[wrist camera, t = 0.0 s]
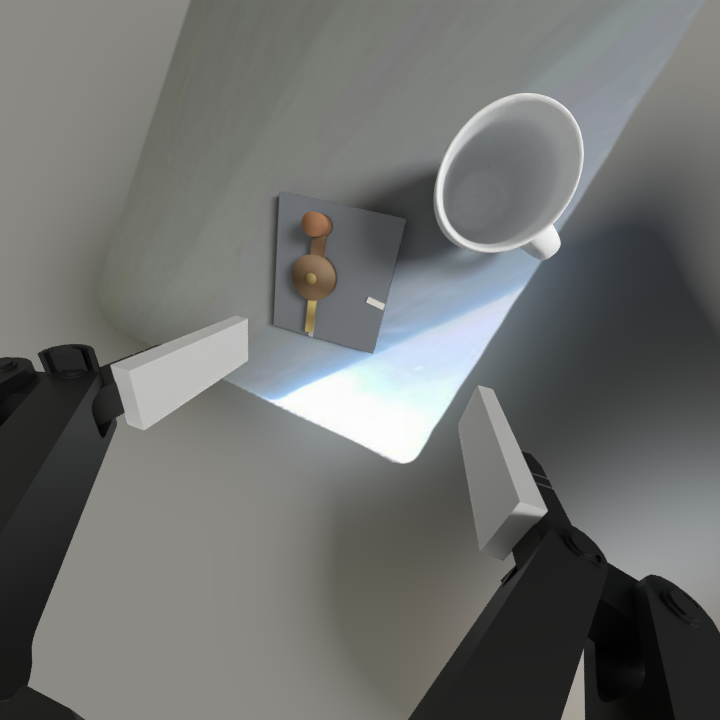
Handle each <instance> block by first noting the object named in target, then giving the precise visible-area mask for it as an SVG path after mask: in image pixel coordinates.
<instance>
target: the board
mask: <svg viewBox="0 0 720 720" xmlns="http://www.w3.org/2000/svg"><path fill="white" fill-rule="evenodd" d="M309 211H313V212H317V213H321V214H325V215H327V216H328V217H329V218H330V219H331V221H332V224H333V229H332V232H331V233H330V235H328V236H327V243H326V251H325V257H326V258H328V259H329V260H330V261H331V262H332V264H333V265H334V267H335V269H336V272H337V284H336V287H335V289H334V291H333V292H332V293H331V294H330V295H328V296H327V297H325V298H323V299H321V300H317V307H316V316H315V324H314V332H312V333H310V332H306V331H305V325H306V315H307V306H308V299H306V298H304V297H303V296H301V295H300V294H299V293H298V292H297V290H296V289H295V287H294V285H293V282H292V269H293V266H294V264H295V262H296V261H297V260H298V259H299V258H300V257H302V256H305V255H310V254H311V244H312V236H309V235H307V234H306V233H305V232H304V230H303V228H302V218H303V216H304V214H305V213H307V212H309ZM406 222H407V219H405V218H401V217H396V216H392V215H387V214H382V213H378V212H373V211H369V210H364V209H360V208H355V207H351V206H346V205H341V204H337V203H332V202H328V201H323V200H319V199H314V198H309V197H305V196H300V195H296V194H291V193H287V192H282V191H279V212H278V235H277V257H276V279H275V302H274V324H273V325H274V326H278V327H281V328H285V329H288V330H292V331H295V332H299V333H302V334H306V335H308V336H311V337H316V338H320V339H323V340H327V341H330V342H334V343H337V344H341V345H344V346H348V347H351V348H355V349H358V350H362V351H365V352H369V353H373V351H374V349H375V345H376V341H377V337H378V333H379V329H380V325H381V321H382V317H383V314H384V310H385V306H386V302H387V298H388V294H389V290H390V286H391V282H392V278H393V274H394V270H395V266H396V262H397V258H398V254H399V250H400V246H401V242H402V238H403V234H404V230H405V226H406Z"/></svg>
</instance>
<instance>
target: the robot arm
mask: <svg viewBox="0 0 720 720" xmlns="http://www.w3.org/2000/svg"><path fill="white" fill-rule="evenodd" d="M38 356H39V358H40V360H41V363H42V365H43V367H44V370H45V372H37V371H35V369H34V367H33V365H32V362H31V361H30V360H28V359H25V358H19V357H18V358H10V357H5V358H0V720H85V719H83V718H82V717H80V716H79V715H78V714H77V713H75V712H74V711H72V710H71V709H69V708H68V707H66V706H64V705H62V704H60V703H58V702H56V701H54V700H52V699H51V698H49V697H47V696H45V695H43V694H41V693H39V692H37V691H35V690H33V689H32V688H30V687H28V686H27V685H28V682H29V679H30V674H31V668H32V642H33V637H34V633H35V630H36V628H37V625H38V623H39V621H40V618H41V616H42V613H43V610H44V608H45V605H46V603H47V600H48V598H49V595H50V593H51V590H52V588H53V585H54V583H55V580H56V578H57V575H58V573H59V570H60V568H61V565H62V563H63V560H64V558H65V555H66V552H67V550H68V547H69V545H70V542H71V540H72V537H73V535H74V532H75V530H76V527H77V525H78V522H79V520H80V517H81V514H82V512H83V509H84V507H85V505H86V502H87V499H88V497H89V494H90V492H91V489H92V487H93V484H94V482H95V479H96V477H97V474H98V471H99V469H100V467H101V464H102V462H103V459H104V457H105V454H106V452H107V449H108V447H109V444H110V442H111V439H112V437H113V434H114V431H115V429H116V426H117V421H116V417H117V416H119V415H121V414H123V413H124V414H125V417H126V420H127V424H128V425H131V426H133V427H136V428H139V429H141V430H146V429H147V428H149V427H150V426H151V425H153V424H154V423H156V422H158V421H159V420H161V419H162V418H163V417H165V416H166V415H168V414H169V413H171V412H172V411H174V410H175V409H177V408H178V407H180V406H181V405H183V404H184V403H186V402H187V401H189V400H190V399H192V398H193V397H195V396H196V395H198V394H199V393H200V392H202V391H203V390H205V389H207V388H208V387H210V386H211V385H212V384H214V383H215V382H217V381H218V380H220V379H221V378H223V377H224V376H226V375H227V374H229V373H230V372H232V371H233V370H235V369H236V368H238V367H239V366H241V365H242V364H244V363H245V362H247V361H248V319H246V318H242V317H239V316H234V317H231V318H228V319H226V320H223V321H221V322H218V323H216V324H213V325H211V326H208V327H206V328H203V329H201V330H198V331H195V332H193V333H190V334H188V335H185V336H183V337H180V338H178V339H175V340H173V341H170V342H167V343H165V344H161V345H156V346H154V347H151V348H148V349H146V350H145V351H141V352H138V353H136V354H135V355H130V356H128V357H125V358H123V359H120V360H118V361H115V362H112V363H110V364H107V365H105V366H102V367H99V364H98V361H97V358H96V355H95V351H94V349H93V348H92V347H90V346H87V345H81V344H70V345H61V346H55V347H51V348H48V349H45V350H43V351H41V352H39V353H38ZM458 430H459V435H460V441H461V447H462V452H463V458H464V464H465V470H466V475H467V481H468V487H469V492H470V498H471V504H472V509H473V515H474V521H475V526H476V532H477V538H478V543H479V549H480V552H481V553H484V554H487V555H489V556H492V557H495V558H498V559H500V560H504V559H505V558H506V557H507V556H508V555H509V554H510V552H511V551H512V552H513V556H514V559H515V563H516V565H515V566H514V567H513V568H512V569H511V570H510V571H509V572H508V574H506V576H505V577H504V578H503V579H502V580H501V582H502V584H501V585H500V587H499V588H498V590H497V591H496V593H495V594H494V595H493V597H492V598H491V600H490V601H489V603H488V604H487V606H486V607H485V608H484V610H483V612H482V613H481V614H480V616H479V617H478V619H477V620H476V622H475V623H474V625H473V626H472V627H471V629H470V630H469V632H468V633H467V635H466V636H465V638H464V639H463V640H462V642H461V643H460V645H459V646H458V648H457V649H456V651H455V652H454V654H453V655H452V656H451V658H450V659H449V661H448V662H447V664H446V665H445V667H444V668H443V670H442V671H441V672H440V674H439V675H438V677H437V678H436V680H435V681H434V683H433V684H432V686H431V687H430V688H429V690H428V691H427V693H426V694H425V696H424V697H423V699H422V700H421V701H420V703H419V704H418V706H417V707H416V709H415V710H414V712H413V713H412V715H411V716H410V718H409V719H408V720H561V717H562V714H563V710H564V708H565V705H566V702H567V698H568V695H569V692H570V689H571V686H572V683H573V680H574V676H575V673H576V670H577V667H578V664H579V661H580V658H581V655H582V652H583V649H584V682H585V720H720V633H719V631H718V629H717V627H716V625H715V624H714V622H713V620H712V619H711V618H710V617H709V616H708V614H707V613H706V612H705V611H704V610H703V608H702V607H701V606H700V605H699V604H698V603H697V602H696V601H695V600H693V599H692V597H690V596H689V595H688V594H687V593H686V592H684V591H683V590H682V589H680V588H679V587H678V586H676V585H675V584H673V583H672V582H670V581H668V580H666V579H664V578H662V577H660V576H656V575H649V576H646V577H645V578H643V579H642V580H640V581H638V580H636V579H634V578H633V577H631V576H629V575H628V574H626V573H624V572H623V571H621V570H619V569H618V568H616V567H614V566H613V565H611V564H609V563H608V562H607V560H606V558H605V556H604V554H603V553H602V551H601V550H600V549H599V547H598V546H597V545H596V544H595V543H594V542H593V541H592V540H591V539H590V538H589V537H588V536H587V535H586V534H585V533H583V532H582V531H580V530H578V529H577V528H576V527H574V526H572V525H571V523H570V521H569V519H568V517H567V515H566V513H565V511H564V509H563V507H562V505H561V503H560V501H559V500H558V497H557V495H556V494H555V492H554V490H553V489H552V486H551V484H550V482H549V480H548V479H547V476H546V474H545V472H544V470H543V468H542V466H541V465H540V464H539V463H538V462H537V461H536V459H535V458H534V457H533V456H532V455H531V454H529V453H526V452H522V451H520V448H519V446H518V444H517V442H516V439H515V437H514V435H513V433H512V431H511V428H510V426H509V424H508V422H507V420H506V418H505V415H504V413H503V411H502V409H501V407H500V404H499V402H498V400H497V398H496V395H495V394H494V391H493V389H490V388H486V387H482V386H479V385H477V388H476V390H475V391H474V393H473V396H472V398H471V399H470V401H469V404H468V405H467V408H466V410H465V412H464V414H463V416H462V418H461V420H460V422H459V424H458Z"/></svg>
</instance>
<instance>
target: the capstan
mask: <svg viewBox="0 0 720 720" xmlns="http://www.w3.org/2000/svg"><path fill="white" fill-rule="evenodd" d="M302 228H303V230H304V232H305V233H306V234H307V235H309V236H312V244H311V254H310V255H305V256H302V257H300V258H299V259H298V260H297V261H296V262H295V264H294V266H293V269H292V282H293V285H294V287H295V289H296V290H297V292H298V293H299V294H300V295H301V296H303V297H304V298H306V299H308V306H307V315H306V325H305V331H306V332H310V333H312V332H314V324H315V316H316V307H317V300H321V299H323V298H325V297H327V296H328V295H330V294H331V293H332V292H333V291H334V289H335V287H336V284H337V272H336V269H335V267H334V265H333V264H332V262H331V261H330V260H329V259H328V258H326V257H325V251H326V243H327V236H328V235H330V233H331V232H332V229H333V224H332V221H331V219H330V218H329V217H328V216H327V215H325V214H321V213H317V212H313V211H309V212H307V213H305V214H304V216H303V218H302Z"/></svg>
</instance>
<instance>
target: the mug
mask: <svg viewBox="0 0 720 720" xmlns="http://www.w3.org/2000/svg"><path fill="white" fill-rule="evenodd" d="M583 157H584V150H583V141H582V136H581V132H580V129H579V126H578V124H577V123H576V120H575V119H574V117H573V116H572V114H571V113H570V112H569V110H568V109H567V108H565V107H564V106H563V105H562V104H560V103H559V102H558V101H556V100H554V99H552V98H549V97H547V96H544V95H540V94H533V93H521V94H515V95H511V96H507V97H504V98H501V99H499V100H496V101H495V102H493V103H491V104H489V105H487V106H486V107H484V108H483V109H481V110H480V111H478V112H477V113H476V114H475V115H474V116H472V117H471V118H470V119H469V120H468V121H467V122H466V123H465V124H464V125H463V126H462V128H461V129H460V130H459V131H458V132H457V134H456V135H455V137H454V138H453V139H452V141H451V143H450V144H449V146H448V148H447V150H446V152H445V154H444V156H443V158H442V161H441V164H440V167H439V170H438V173H437V178H436V182H435V188H434V196H433V197H434V200H433V203H434V211H435V216H436V220H437V223H438V225H439V226H440V229H441V230H442V232H443V233H444V235H445V236H446V237H447V238H448V240H450V241H451V242H452V243H454V244H455V245H457V246H459V247H461V248H463V249H465V250H469V251H474V252H477V253H478V252H480V253H497V252H503V251H508V250H511V249H515V248H517V247H520V248H521V249H523V250H524V251H526V252H527V253H528V254H530V255H532V256H533V257H535V258H537V259H539V260H545V259H548V258H549V257H551V256H552V255H553V254H555V253H556V252H557V250H558V249H559V247H560V239H559V236H558V234H557V231H556V229H555V228H554V226H553V225H552V224H553V223H554V222H555V221H556V220H557V219H558V218H559V216H560V215H561V214H562V213H563V211H564V210H565V208H566V207H567V205H568V204H569V202H570V200H571V198H572V197H573V195H574V193H575V190H576V188H577V185H578V182H579V179H580V175H581V172H582V166H583Z"/></svg>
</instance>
